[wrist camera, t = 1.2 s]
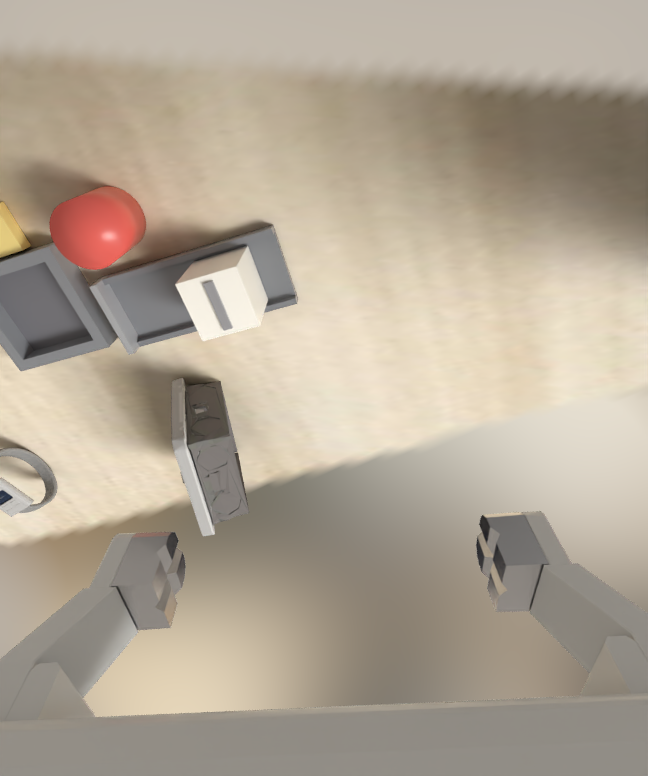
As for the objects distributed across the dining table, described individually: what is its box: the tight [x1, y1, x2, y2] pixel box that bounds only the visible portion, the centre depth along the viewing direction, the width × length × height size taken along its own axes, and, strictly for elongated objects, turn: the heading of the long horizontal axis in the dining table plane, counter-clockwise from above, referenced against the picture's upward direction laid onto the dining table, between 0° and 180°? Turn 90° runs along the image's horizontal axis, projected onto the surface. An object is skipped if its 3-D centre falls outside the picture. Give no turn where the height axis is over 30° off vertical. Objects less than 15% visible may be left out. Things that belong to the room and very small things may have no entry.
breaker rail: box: [89, 225, 298, 354], centre depth 32 cm, size 13×5×2 cm, turn 106°
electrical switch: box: [171, 378, 249, 536], centre depth 36 cm, size 9×5×9 cm, turn 5°
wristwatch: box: [0, 448, 57, 517], centre depth 40 cm, size 6×3×5 cm, turn 34°
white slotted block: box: [175, 246, 268, 341], centre depth 30 cm, size 4×4×5 cm
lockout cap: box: [50, 186, 146, 270], centre depth 29 cm, size 4×4×4 cm
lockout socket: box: [0, 202, 118, 371], centre depth 32 cm, size 8×11×2 cm
